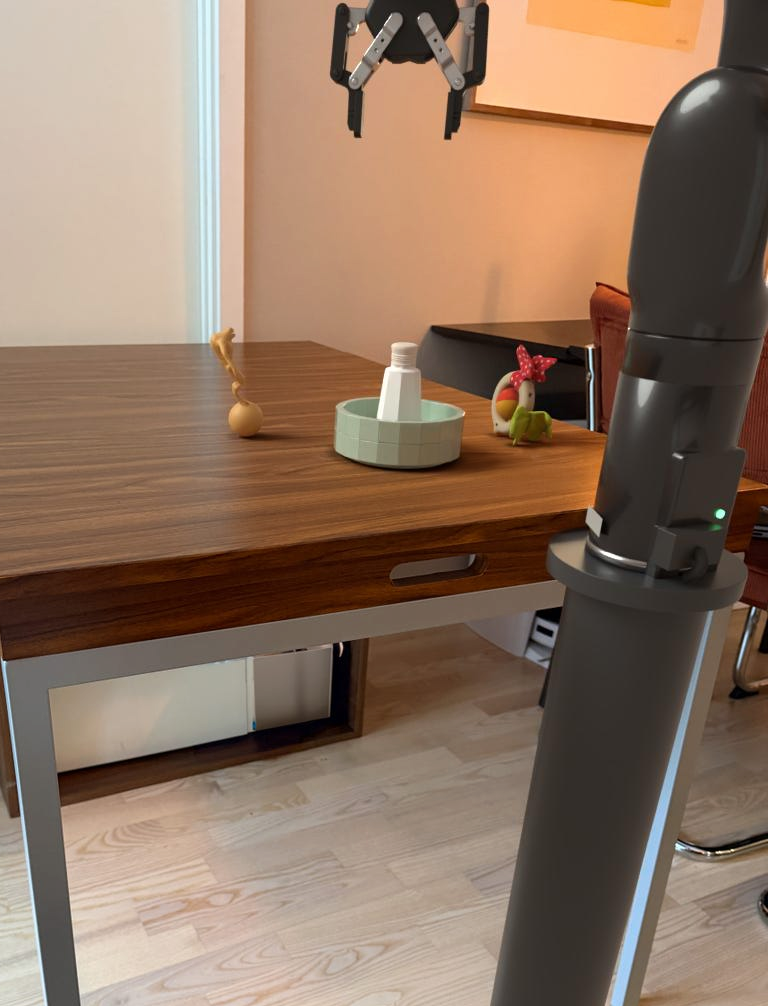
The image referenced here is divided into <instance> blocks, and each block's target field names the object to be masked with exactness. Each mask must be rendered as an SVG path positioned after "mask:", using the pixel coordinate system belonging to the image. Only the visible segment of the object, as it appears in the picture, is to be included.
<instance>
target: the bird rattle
mask: <svg viewBox="0 0 768 1006" xmlns="http://www.w3.org/2000/svg"><path fill="white" fill-rule="evenodd" d="M516 356H517V360H518V364H519V367H520V369H518V370H515V371H510V372H508V373H507V374H505V375H504V376H503V377H502V378H501V379H500V380H499V382H498V383H497V385H496V387H495V389H494V393H493V396H492V400H491V419H492V423H493V428H492V429H493V432H492V433H493V435H494V436H495V435H496V436H503V435H508V436H509V438H510V439H514V440H513V441H512V445H513V446H517V444H519V442H520V440H521V439H522V438H523V436H524V435H525V437H526V439H527V440H529V441H530V442H537V441H539V440H540V439H541V437H542V436H543V434H544V435H545V438H546V439H548V440H551V439H553V431H552V425H553V420H552V417H551V416H550V415H549V413H547V412H546V411H541V410H540V411H534V408H535V399H536V392H535V385H536V383H535V381H536V382H538V383H544V382H545V381H546V379H547V378H546V374H545V371H546V370H548V369H549V368H551V367H552V366H553V365H555V364H556V363H557V362H558V358H554V357H543V356H542V355H541V354H538V355H535V356H533V358H531V356H530V354H529V352H528V351H527V349H526V347H525V346H524V345H523V344H520V345H518V347H517V349H516Z"/></svg>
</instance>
